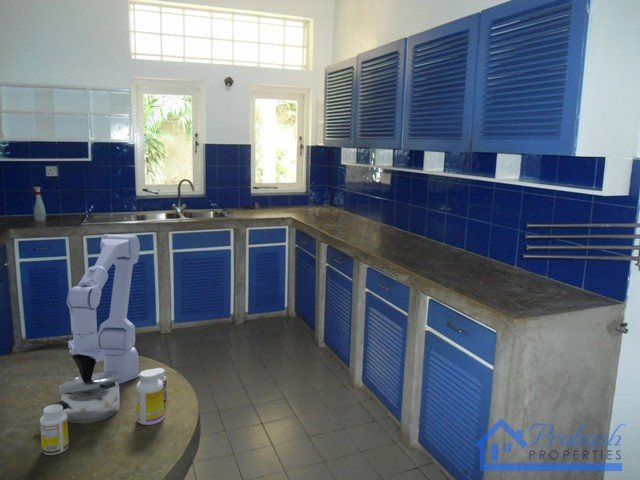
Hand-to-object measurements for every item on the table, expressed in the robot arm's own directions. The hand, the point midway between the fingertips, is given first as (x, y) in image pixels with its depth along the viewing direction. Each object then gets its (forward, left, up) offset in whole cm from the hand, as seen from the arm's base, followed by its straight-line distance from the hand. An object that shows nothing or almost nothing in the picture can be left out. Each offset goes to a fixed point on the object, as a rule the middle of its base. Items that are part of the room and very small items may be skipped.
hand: (87, 379), depth 136 cm
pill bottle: (-15, +10, -8) cm, 20 cm away
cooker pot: (+2, +2, -8) cm, 9 cm away
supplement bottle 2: (-7, +18, -8) cm, 21 cm away
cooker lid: (0, +3, -1) cm, 3 cm away
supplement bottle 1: (+15, +13, -8) cm, 21 cm away
